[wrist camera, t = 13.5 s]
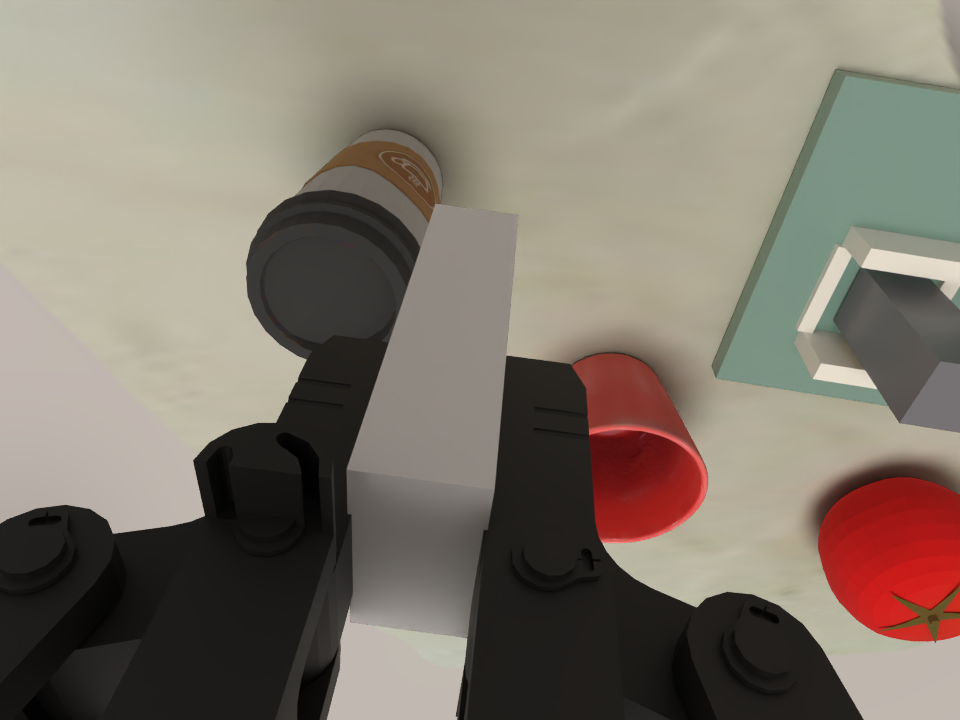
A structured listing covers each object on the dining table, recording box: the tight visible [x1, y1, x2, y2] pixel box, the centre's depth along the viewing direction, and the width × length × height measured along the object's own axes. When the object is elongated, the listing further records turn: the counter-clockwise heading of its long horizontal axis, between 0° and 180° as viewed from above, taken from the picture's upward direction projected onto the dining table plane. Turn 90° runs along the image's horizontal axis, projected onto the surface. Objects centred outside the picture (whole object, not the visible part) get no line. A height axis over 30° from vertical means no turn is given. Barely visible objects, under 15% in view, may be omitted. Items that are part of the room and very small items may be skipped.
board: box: [712, 70, 960, 406], centre depth 40 cm, size 20×15×6 cm
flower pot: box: [572, 353, 708, 543], centre depth 46 cm, size 11×11×10 cm
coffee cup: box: [246, 129, 443, 359], centre depth 36 cm, size 8×8×15 cm
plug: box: [834, 268, 960, 433], centre depth 38 cm, size 5×4×10 cm
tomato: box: [818, 477, 960, 642], centre depth 50 cm, size 12×12×10 cm
